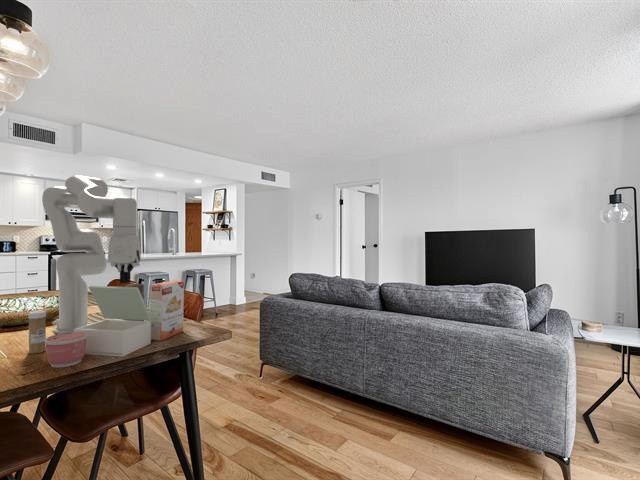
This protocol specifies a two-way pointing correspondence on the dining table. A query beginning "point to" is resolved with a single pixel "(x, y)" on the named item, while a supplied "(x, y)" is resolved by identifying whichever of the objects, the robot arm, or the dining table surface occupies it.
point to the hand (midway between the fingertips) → (125, 282)
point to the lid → (120, 302)
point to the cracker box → (166, 309)
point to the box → (116, 336)
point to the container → (65, 349)
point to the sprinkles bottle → (37, 331)
